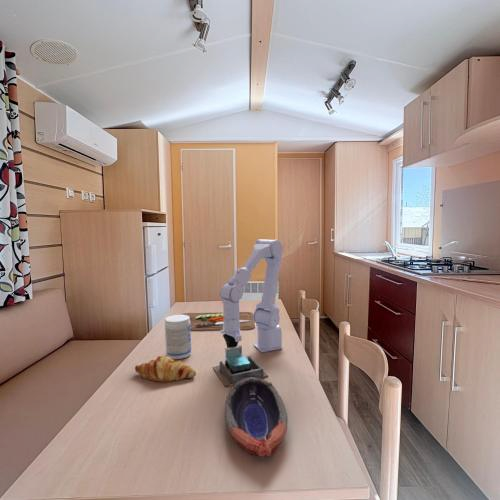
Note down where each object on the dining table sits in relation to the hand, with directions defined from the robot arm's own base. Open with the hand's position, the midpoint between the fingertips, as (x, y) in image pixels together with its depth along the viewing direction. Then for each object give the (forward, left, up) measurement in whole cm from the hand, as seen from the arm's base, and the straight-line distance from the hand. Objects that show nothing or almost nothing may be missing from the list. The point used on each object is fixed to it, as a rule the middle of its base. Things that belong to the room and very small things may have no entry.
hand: (231, 354), depth 111 cm
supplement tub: (+16, -15, -4) cm, 23 cm away
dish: (+6, +33, -4) cm, 34 cm away
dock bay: (0, +7, -3) cm, 8 cm away
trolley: (0, +6, -3) cm, 7 cm away
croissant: (+24, 0, -4) cm, 24 cm away
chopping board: (-8, -48, -4) cm, 49 cm away
